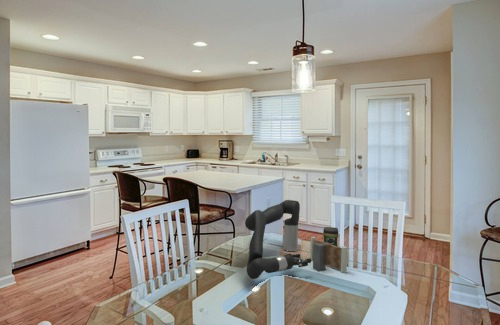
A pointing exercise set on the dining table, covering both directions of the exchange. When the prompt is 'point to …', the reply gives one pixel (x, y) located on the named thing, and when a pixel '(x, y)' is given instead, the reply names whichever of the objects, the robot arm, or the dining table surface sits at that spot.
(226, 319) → the dining table surface
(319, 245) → the iron block
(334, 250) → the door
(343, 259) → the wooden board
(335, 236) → the coffee jar
